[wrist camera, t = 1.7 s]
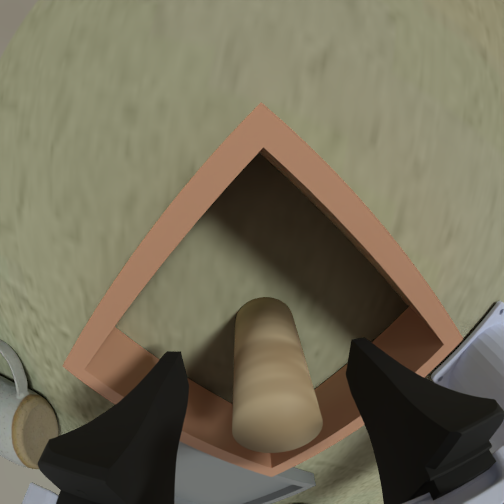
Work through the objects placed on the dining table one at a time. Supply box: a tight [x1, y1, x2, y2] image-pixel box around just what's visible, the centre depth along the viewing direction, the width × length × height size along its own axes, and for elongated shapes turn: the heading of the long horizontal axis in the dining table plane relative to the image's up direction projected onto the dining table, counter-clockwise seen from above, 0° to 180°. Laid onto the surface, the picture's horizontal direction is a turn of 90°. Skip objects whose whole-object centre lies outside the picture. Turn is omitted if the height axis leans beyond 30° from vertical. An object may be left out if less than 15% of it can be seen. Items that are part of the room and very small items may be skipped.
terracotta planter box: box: [63, 103, 463, 477], centre depth 13 cm, size 14×14×4 cm
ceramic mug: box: [0, 340, 58, 469], centre depth 13 cm, size 11×8×8 cm
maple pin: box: [232, 297, 323, 453], centre depth 11 cm, size 3×3×7 cm
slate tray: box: [174, 441, 316, 504], centre depth 20 cm, size 16×14×2 cm
